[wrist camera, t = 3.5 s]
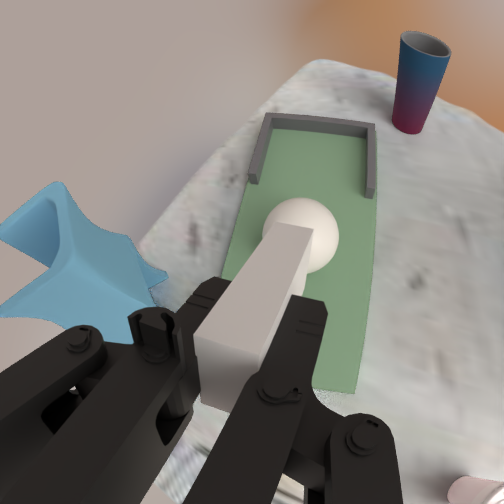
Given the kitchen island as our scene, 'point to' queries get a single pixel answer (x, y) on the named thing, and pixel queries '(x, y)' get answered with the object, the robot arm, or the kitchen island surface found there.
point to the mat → (349, 246)
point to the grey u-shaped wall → (319, 126)
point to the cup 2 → (418, 79)
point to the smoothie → (476, 491)
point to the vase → (77, 268)
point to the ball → (312, 217)
